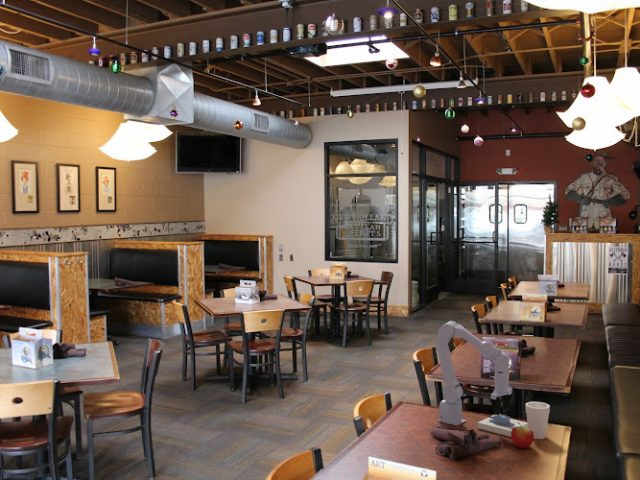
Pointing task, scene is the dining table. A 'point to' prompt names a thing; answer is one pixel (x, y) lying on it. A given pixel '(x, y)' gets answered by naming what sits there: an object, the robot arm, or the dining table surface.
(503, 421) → the servo
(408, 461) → the dining table surface
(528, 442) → the apple
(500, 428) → the chassis plate
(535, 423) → the foam cup
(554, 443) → the dining table surface
